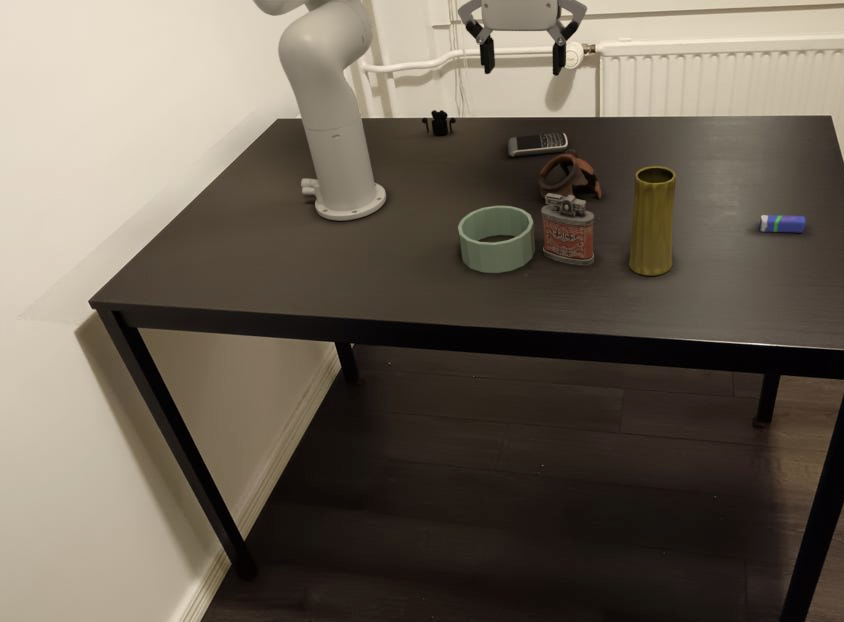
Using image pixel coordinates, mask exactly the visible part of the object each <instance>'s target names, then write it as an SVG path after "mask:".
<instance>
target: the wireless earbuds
mask: <svg viewBox="0 0 844 622" xmlns="http://www.w3.org/2000/svg"><path fill="white" fill-rule="evenodd" d="M430 113H431V117H432V120H431V129H432V133H433V135H435V136H447V135H448V134H449V133H450V134H453V127H452V124H455V123H456V122H457V120H456V118H454V117H451V118H450V119H449V121H448V120H447V119H448V117H449V115H448V113H447V112H446V111H444V110H443V109H442V110H441V109H440V110H439V111H438V110H436V109H433V110H432V111H431V112H430ZM421 123H422V124H425V129H426V133H427V134H430V129H429V128H430V127H429V122H428V118H427V117H422V119H421ZM448 126H449V127H448Z"/></svg>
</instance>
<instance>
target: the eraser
mask: <svg viewBox="0 0 844 622" xmlns="http://www.w3.org/2000/svg"><path fill="white" fill-rule="evenodd" d="M805 227H806V217H805V216H802V215H770V214H769V215H768V214H767V215H765V214H762V215H761V216H760V222H759V232H760V233H791V234H792V233H793V234H794V233H795V234H796V233H797V234H802V233H804V230H805Z"/></svg>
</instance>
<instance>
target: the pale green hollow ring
mask: <svg viewBox="0 0 844 622" xmlns="http://www.w3.org/2000/svg"><path fill="white" fill-rule="evenodd" d="M534 226H535V225H534V220H533V218H532V215H531V214H530V213H528V212H527V211H526V210H524V209H522V208H519V207H515V206H511V205H492V206H485V207H480V208H479V209H476V210H474V211H471V212H469V213H468V214H466V215H465V216H463V218H461V220H460V221H459V224H458V225H457V233H458V238H459V248H460V255H461V259H462V263H463V264H464V265H466V266H467V267H468V268H469V269H471V270H474V271H477V272H480V273H484V274H502V273H506V272H513V271H514V270H517V269H519V268H522V267H524V266H525V265H526V264H528V263H529V262H530V261H531V260H533V258H534V254H535V251H536V243H535V242H536V241H535V229H534V228H535V227H534ZM496 236H509V237H510V236H511V237H512V238H509V239H507V240H501V241H496V242H495V241H494V242H489V241H481V240H484V239H486V238H490V237H496Z"/></svg>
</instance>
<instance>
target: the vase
mask: <svg viewBox="0 0 844 622" xmlns="http://www.w3.org/2000/svg"><path fill="white" fill-rule="evenodd" d="M634 177H635V178H634V196H633V197H634V200H633V201H634V202H633V212H632V213H633V214H632V226H631V237H630V248H629V251H630V252H629V260H628V266H629V269H630V270H632V272H634V273H636V274H638V275H640V276H646V277H655V276H656V277H657V276H660V275H663V274H665V273H667V272H669V271H670V270H671V268H672V266H673V218H674V206H675V196H676V195H675V193H676V183H677V175H676V173H675V171H674V170H673V169H671V168H670V167H667V166H661V165H650V166H646V167H643V168H640V169H638V170H637V171H636V173H635V176H634Z"/></svg>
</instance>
